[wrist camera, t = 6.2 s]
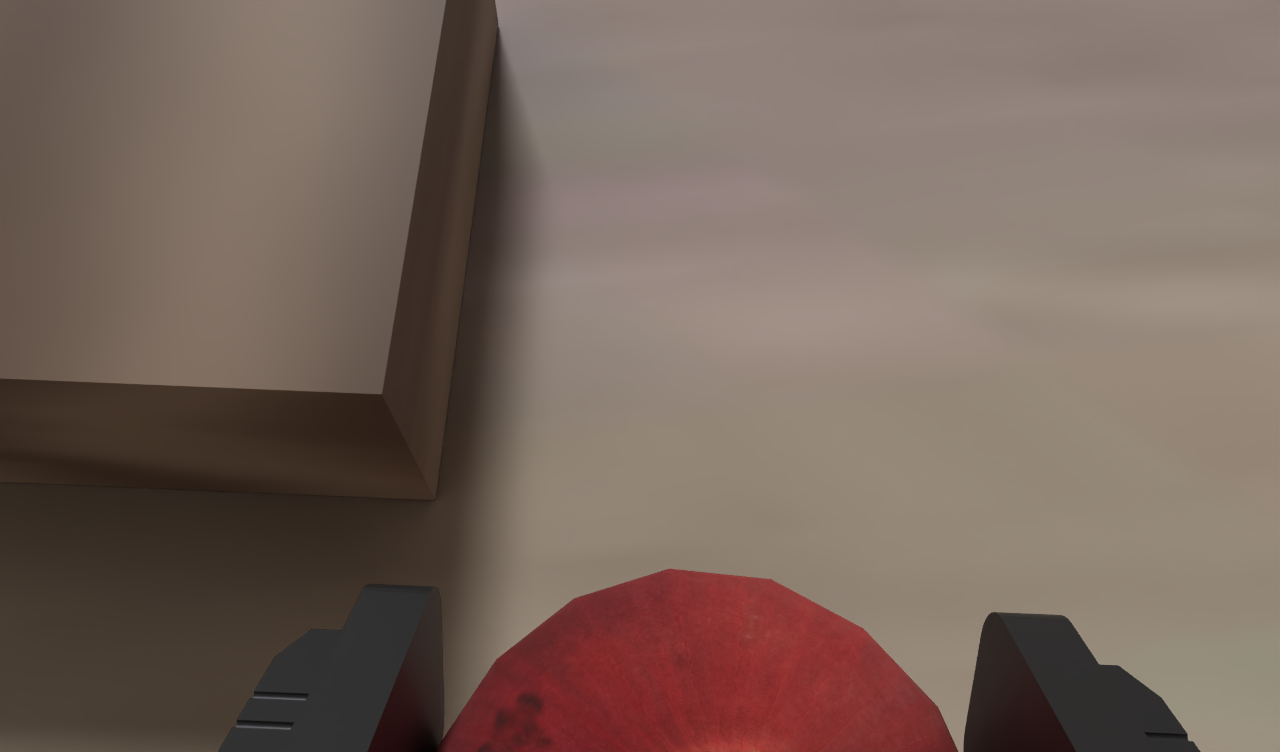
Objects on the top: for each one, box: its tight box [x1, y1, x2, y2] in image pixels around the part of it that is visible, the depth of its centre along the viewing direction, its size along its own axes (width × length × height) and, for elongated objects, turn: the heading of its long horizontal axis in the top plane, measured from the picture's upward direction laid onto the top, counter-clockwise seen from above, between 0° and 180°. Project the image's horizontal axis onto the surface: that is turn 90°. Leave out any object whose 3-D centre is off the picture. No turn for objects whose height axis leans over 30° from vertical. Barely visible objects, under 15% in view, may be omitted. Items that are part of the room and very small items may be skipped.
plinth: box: [0, 0, 498, 500], centre depth 17 cm, size 12×10×4 cm
